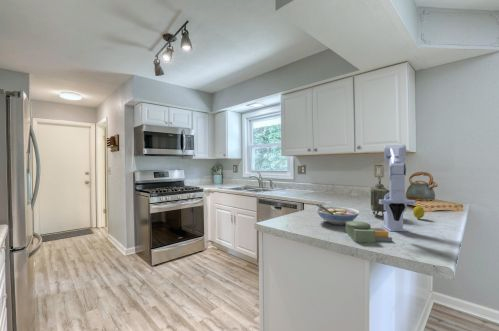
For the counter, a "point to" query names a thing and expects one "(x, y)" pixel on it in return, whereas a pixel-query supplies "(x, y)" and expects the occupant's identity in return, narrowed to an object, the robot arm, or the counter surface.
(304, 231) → the counter surface
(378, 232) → the orange square frame
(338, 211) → the ramen bowl
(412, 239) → the counter surface
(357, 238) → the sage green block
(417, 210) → the lemon
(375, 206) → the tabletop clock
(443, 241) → the counter surface
